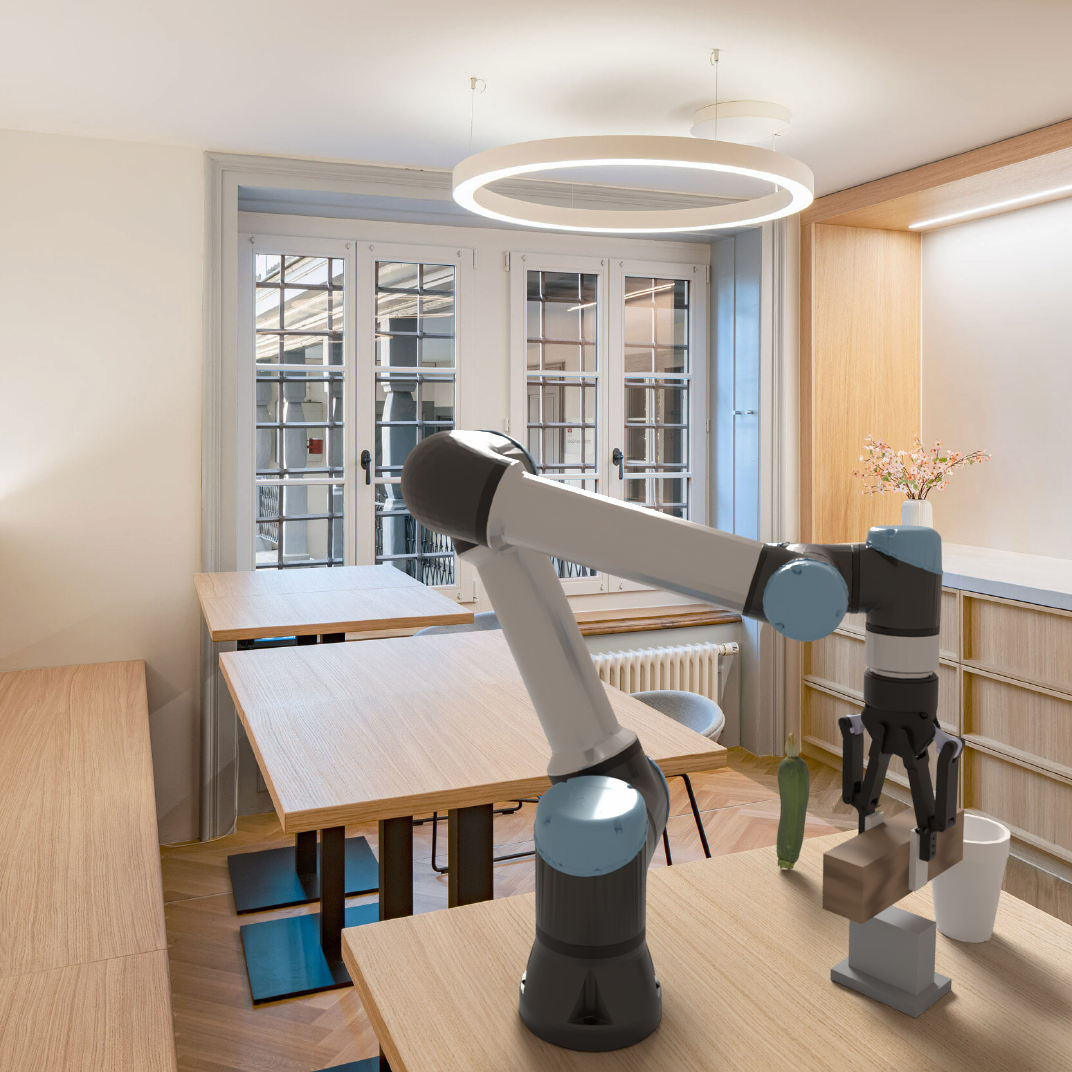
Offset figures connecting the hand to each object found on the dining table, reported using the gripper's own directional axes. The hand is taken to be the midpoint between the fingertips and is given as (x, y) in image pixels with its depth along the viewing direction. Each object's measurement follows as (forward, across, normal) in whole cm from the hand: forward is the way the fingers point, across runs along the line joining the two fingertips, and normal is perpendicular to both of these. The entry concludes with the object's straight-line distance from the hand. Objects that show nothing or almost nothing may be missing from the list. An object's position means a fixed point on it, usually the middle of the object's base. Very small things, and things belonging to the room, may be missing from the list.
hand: (895, 878), depth 106 cm
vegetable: (+12, +24, -17) cm, 32 cm away
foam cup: (+12, 0, -18) cm, 22 cm away
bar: (+1, 0, 0) cm, 1 cm away
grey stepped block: (+12, 0, 0) cm, 12 cm away
